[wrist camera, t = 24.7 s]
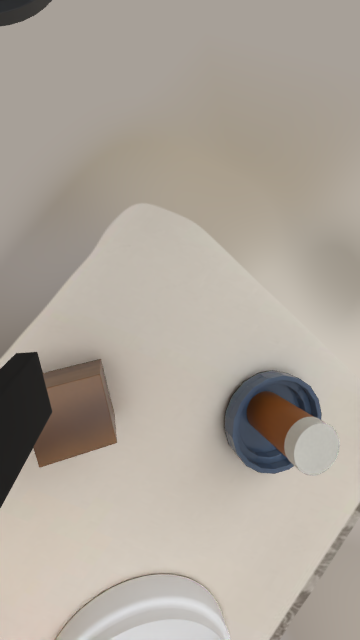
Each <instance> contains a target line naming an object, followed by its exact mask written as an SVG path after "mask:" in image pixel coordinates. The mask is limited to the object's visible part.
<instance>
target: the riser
mask: <svg viewBox="0 0 360 640" xmlns="http://www.w3.org/2000/svg"><path fill="white" fill-rule="evenodd" d="M43 377H44V381H45V385H46V388H47V392H48V396H49V400H50V404H51V408H52V414H51V416H50V417H49V419H48V421H47V423H46V425H45V427H44V428H43V430H42V432H41V434H40V436H39V438H38V440H37V441H36V443H35V445H34V447H33V448H34V451H35V454H36V458H37V461H38V465H39V467H43V466H46V465H49V464H52V463H55V462H58V461H62V460H65V459H68V458H71V457H74V456H77V455H80V454H83V453H87V452H90V451H93V450H96V449H99V448H102V447H105V446H108V445H111V444H115V443H117V438H116V426H115V415H114V411H113V407H112V403H111V399H110V395H109V391H108V386H107V382H106V378H105V374H104V370H103V366H102V361H101V359H99V360H95V361H91V362H86V363H82V364H78V365H74V366H70V367H66V368H62V369H58V370H54V371H50V372H46V373H43Z"/></svg>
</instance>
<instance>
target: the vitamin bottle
mask: <svg viewBox="0 0 360 640" xmlns="http://www.w3.org/2000/svg"><path fill="white" fill-rule="evenodd" d="M247 419H248V421H249V423H250V425H251V426H252V427H254V428H255V429H256V430H257V431H258V432H259V433H260V434H261V435H262V436H263V437H265V438H266V439H267V440H268V441H269V442H270V443H271V444H272V445H273V446H275V447H276V448H277V449H278V450H279V451H280V452H281V453H282V454H283V455H284V456H286V457H287V458H288V460H289V461H290V462H291V463H292V464H293V465H294V466H295V467H296V468H298V469H299V470H300V471H301V472H302V473H304V474H306V475H318V474H321V473H323V472H325V471H326V470H327V469H329V468H330V467H331V465H332V464H333V463H334V461H335V460H336V458H337V455H338V452H339V447H340V441H339V436H338V434H337V432H336V430H335V429H334V428H333V427H332V426H330V425H329V424H327V423H325V422H324V421H322V420H320V419H319V418H316V417H314V416H312V415H310V414H308V413H307V412H305V411H303V410H302V409H300V408H298V407H297V406H295V405H293V404H292V403H290V402H288V401H287V400H285V399H283V398H282V397H280V396H278V395H277V394H275V393H273V392H270V391H264V392H261V393H258V394H257V395H255V396H254V397H253V398H252V399H251V401H250V403H249V405H248V407H247Z"/></svg>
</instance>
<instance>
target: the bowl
mask: <svg viewBox="0 0 360 640" xmlns="http://www.w3.org/2000/svg"><path fill="white" fill-rule="evenodd" d="M264 391H270V392H273V393H275V394H277V395H278V396H280V397H282V398H283V399H285V400H287V401H288V402H290V403H292V404H293V405H295V406H297V407H298V408H300V409H302V410H303V411H305V412H307V413H308V414H310V415H312V416H314V417H316V418H319V419H320V420H321V409H320V404H319V399H318V398H317V396H316V394H315V393H314V391H313V390H312V388H311V387H310V386H309V385H308V384H306V383H305V382H304V381H302V380H301V379H299V378H297V377H295V376H293V375H291V374H288V373H284V372H279V371H273V370H272V371H267V372H262V373H258V374H256V375H255V376H253V377H251V378H250V379H248V380H246V381H245V382H243V384H242V385H241V386H240V387H239V388H238V389H237V391H236V392H235V393H234V394H233V396H232V398H231V400H230V403H229V405H228V407H227V410H226V414H225V427H224V428H225V432H226V436H227V439H228V443H229V445H230V446H231V447H232V449H233V450H234V451H235V453H236V454H237V455H238V456H239V458H240V459H241V460H242V461H243V462H244V464H245V465H246V466H248V467H250V468H252V469H253V470H255V471H257V472H260V473H272V474H275V473H278V472H282V471H285V470H288V469H290V468H292V467H293V466H294V465H293V464H292V463H291V462H290V461H289V460H288V458H287V457H286V456H284V455H283V454H282V453H281V452H280V451H279V450H278V449H277V448H276V447H275V446H273V445H272V444H271V443H270V442H269V441H268V440H267V439H266V438H265V437H263V436H262V435H261V434H260V433H259V432H258V431H257V430H256V429H255V428H254V427H252V426H251V425H250V423H249V421H248V419H247V407H248V405H249V403H250V401H251V399H252V398H253V397H254V396H255V395H257V394H258V393H261V392H264Z"/></svg>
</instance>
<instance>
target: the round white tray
mask: <svg viewBox="0 0 360 640" xmlns="http://www.w3.org/2000/svg"><path fill="white" fill-rule="evenodd" d="M56 640H231V638H230V635H229V631H228V628H227V626H226V623H225V620H224V618H223V615H222V612H221V610H220V607H219V605H218V603H217V602H216V600H215V598H214V597H213V596H212V594H211V593H210V592H209V591H208V590H207V589H206V588H205V587H204V586H202V585H201V584H199V583H198V582H196V581H194V580H192V579H189V578H186V577H183V576H178V575H171V574H155V575H147V576H142V577H138V578H135V579H131V580H128V581H126V582H123V583H121V584H118V585H116V586H114V587H112V588H110V589H108V590H107V591H105V592H103V593H102V594H100V595H99V596H97V597H96V598H94V599H93V600H92V601H90V602H89V603H88V604H87V605H85V606H84V607H83V608H82V609H81V610H80V611H79V612H78V613H77V614H76V615H74V616H73V618H72V619H71V620H70V621H69V622H68V623H67V624H66V626H65V627H64V628H63V630H62V631H61V632H60V634H59V635H58V637H57V638H56Z"/></svg>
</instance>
